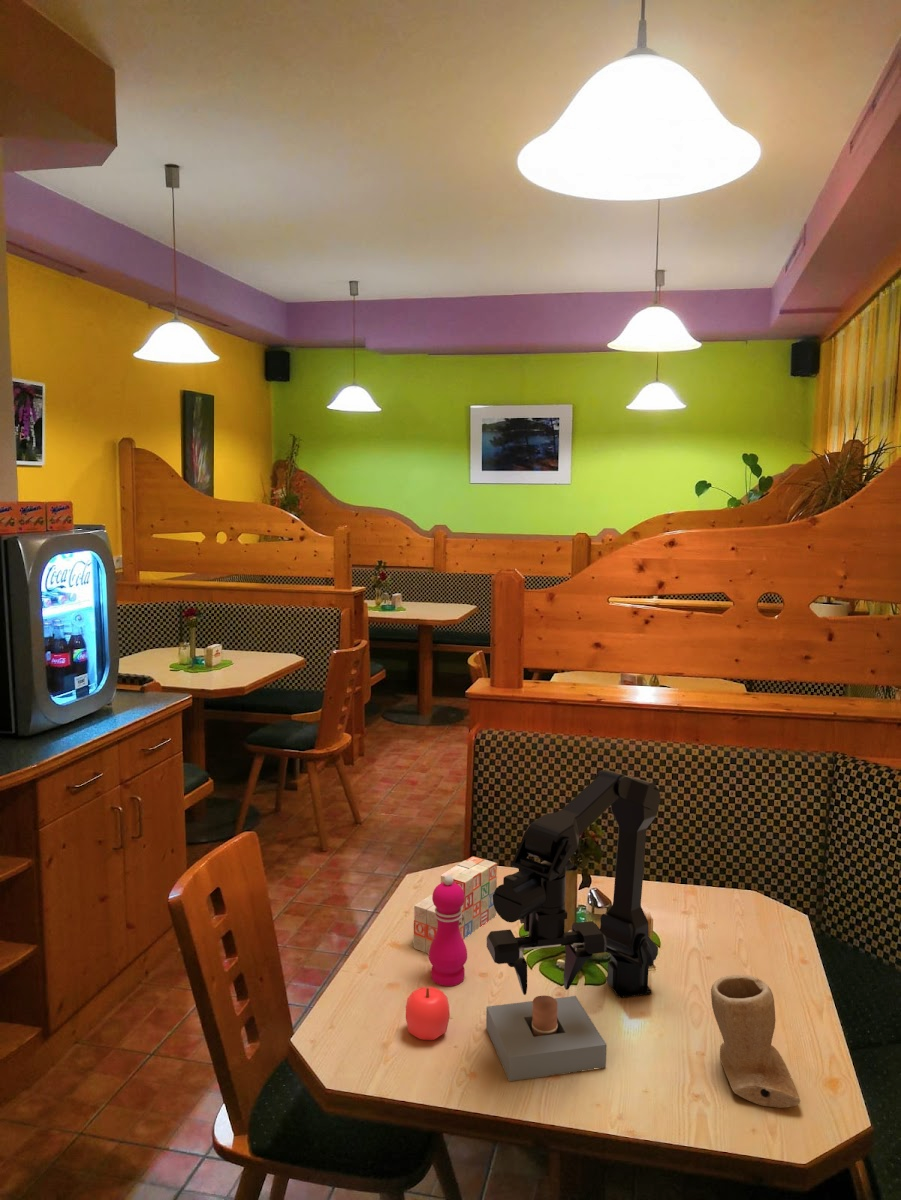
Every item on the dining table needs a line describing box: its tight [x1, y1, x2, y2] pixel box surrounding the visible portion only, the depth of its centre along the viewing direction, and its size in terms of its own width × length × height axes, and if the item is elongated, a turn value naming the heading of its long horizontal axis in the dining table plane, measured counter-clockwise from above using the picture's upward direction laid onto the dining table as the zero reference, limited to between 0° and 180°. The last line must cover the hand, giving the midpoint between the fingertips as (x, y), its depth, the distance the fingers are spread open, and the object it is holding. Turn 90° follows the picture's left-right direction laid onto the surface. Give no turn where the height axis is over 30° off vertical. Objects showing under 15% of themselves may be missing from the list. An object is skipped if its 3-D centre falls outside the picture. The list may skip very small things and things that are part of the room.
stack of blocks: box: [413, 855, 498, 955], centre depth 186 cm, size 21×6×12 cm, turn 145°
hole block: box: [485, 995, 608, 1082], centre depth 148 cm, size 16×14×4 cm
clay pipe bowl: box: [710, 974, 801, 1108], centre depth 140 cm, size 15×12×15 cm
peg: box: [532, 995, 558, 1037], centre depth 148 cm, size 4×4×8 cm
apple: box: [405, 986, 450, 1041], centre depth 152 cm, size 8×8×8 cm
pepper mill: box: [428, 876, 468, 987], centre depth 168 cm, size 7×7×20 cm
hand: (545, 990), depth 147 cm, fingers open, 7 cm apart
